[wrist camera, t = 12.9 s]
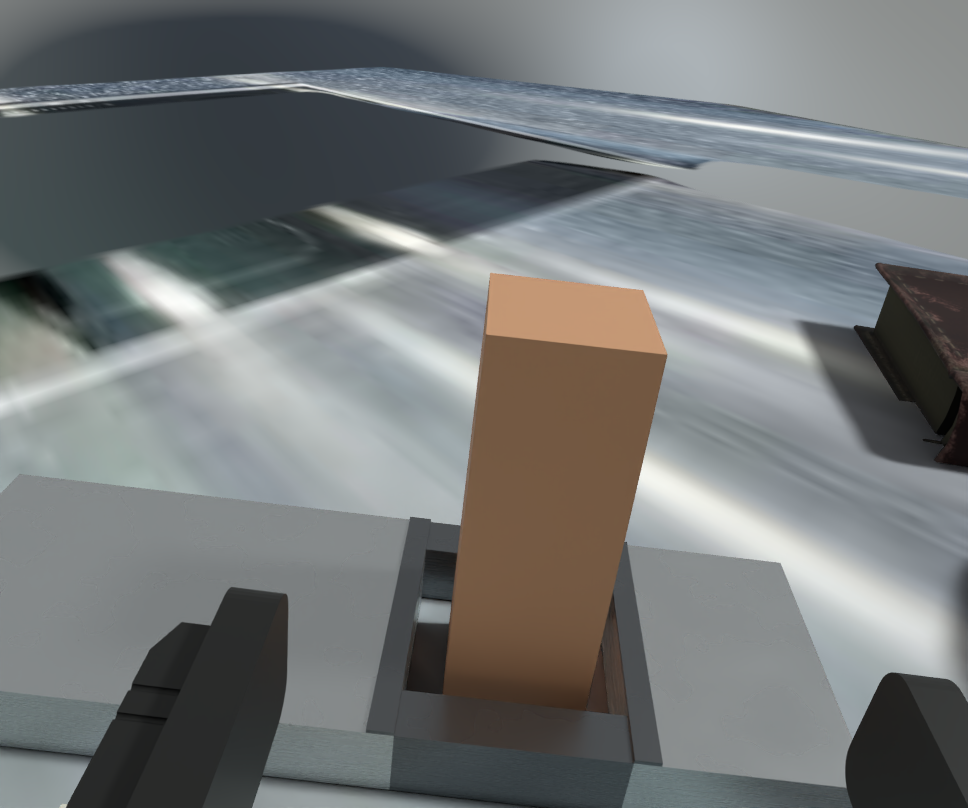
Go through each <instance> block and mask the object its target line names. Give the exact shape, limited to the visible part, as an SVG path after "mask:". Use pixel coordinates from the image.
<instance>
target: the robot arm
mask: <svg viewBox="0 0 968 808" xmlns="http://www.w3.org/2000/svg"><path fill="white" fill-rule="evenodd" d="M287 658H288V596H287V594H284V593H277V592H269V591H261V590H253V589H245V588H237V587H230V588H229V589H228V590H227V592H226V594H225V595H224V597H223V600H222V602H221V604H220V606H219V608H218V610H217V613H216V615H215V617H214V619H213V621H212V623H211V626H210V625H203V624H195V623H187V622H181V623H180V624H179V625H178V626H176V627H175V628H174V629H173V630H172V631H171V632H169V633H168V634H167V635H166V636H165V637H164V638H162V639H161V640H160V641H159V642H158V643H157V644H155V645H154V646H153V647H152V648H151V649H150V650H149V652H148V654H147V656H146V658H145V660H144V661H143V663H142V665H141V667H140V669H139V671H138V673H137V675H136V676H135V678H134V680H133V682H132V687H131V690H128V692H127V693H126V695H125V697H124V699H123V701H122V703H121V705H120V707H119V708H118V710H117V715H116V718H115V719H113V720H112V722H111V723H110V725H109V727H108V729H107V731H106V733H105V735H104V737H103V739H102V740H101V742H100V744H99V746H98V748H97V750H96V752H95V754H94V755H93V757H92V759H91V761H90V763H89V765H88V767H87V769H86V770H85V772H84V774H83V776H82V778H81V780H80V782H79V784H78V786H77V787H76V789H75V791H74V793H73V795H72V797H71V799H70V801H69V802H68V804H67V806H66V808H252V806H253V803H254V800H255V797H256V793H257V790H258V787H259V784H260V781H261V778H262V775H263V771H264V768H265V765H266V762H267V759H268V756H269V753H270V750H271V746H272V743H273V740H274V737H275V734H276V731H277V728H278V724H279V721H280V717H281V713H282V708H283V703H284V698H285V691H286V684H287ZM845 779H846V787H847V792H848V796H849V799H850V802H851V804H852V807H853V808H968V703H967V701H966V699H965V697H964V696H963V694H962V692H961V691H960V689H959V688H958V686H957V685H956V684H955V683H953V682H952V681H950V680H948V679H941V678H933V677H925V676H917V675H909V674H901V673H888V674H887V675H885V676H884V677H883V679H882V680H881V682H880V684H879V686H878V688H877V690H876V692H875V694H874V696H873V698H872V700H871V702H870V704H869V706H868V709H867V711H866V713H865V715H864V717H863V719H862V721H861V723H860V725H859V727H858V729H857V731H856V734H855V736H854V738H853V740H852V742H851V744H850V746H849V749H848V752H847V756H846V763H845Z"/></svg>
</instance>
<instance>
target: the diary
mask: <svg viewBox="0 0 968 808" xmlns="http://www.w3.org/2000/svg"><path fill="white" fill-rule="evenodd" d="M875 266H876V269H877V270H878V271H879V273H880V274H881V275H882V276H883V278H884V279H885V280H886V281H887V283H888V284H889V285H890V287H889V290H888V293H887V295H886V298H885V301H884V304H883V307H882V309H881V312H880V315H879V318H878V321H877V323H876V326H875V328H870V327H864V326H858V325H856V326H854V329H855V330H856V332H857V333H858V335H859V337H860V338H861V340H862V341H863V343H864V345H865V346H866V348H867V349H868V351H869V353H870V354H871V356H872V357H873V359H874V361H875V362H876V364H877V365H878V367H879V369H880V370H881V372H882V373H883V375H884V377H885V378H886V380H887V381H888V383H889V385H890V386H891V388H892V389H893V391H894V393H895V394H896V396H897V397H898V399H899V400H901V401H910V402H916V404H917V405H918V407H919V409H920V410H921V412H922V413H923V415H924V416H925V418H926V419H927V421H928V423H929V424H930V426H931V427H932V429H933V430H934V432H935V433H936V434H941V435H945V436H944V438H943V439H942V440H941V441H935V440H929V439H923V441H926V442H932V443H938V444H943V446H945V447H944V448H943V449H942V450H941V451H940V453H939V454H938V455H937V456H936V457H935V459H934V461H936V462H940V463H946V464H952V465H958V466H964V467H968V276H964V275H958V274H951V273H944V272H937V271H930V270H923V269H916V268H909V267H903V266H896V265H889V264H882V263H877V264H875Z"/></svg>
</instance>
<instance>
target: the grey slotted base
mask: <svg viewBox="0 0 968 808" xmlns="http://www.w3.org/2000/svg"><path fill="white" fill-rule="evenodd" d="M460 528H461V526H459V525H451V524H442V523H433V522H431V519H424V518H415V517H410V520H408V519H399V518H391V517H382V516H373V515H365V514H356V513H348V512H339V511H331V510H322V509H313V508H305V507H296V506H288V505H279V504H271V503H262V502H254V501H245V500H236V499H228V498H219V497H211V496H202V495H194V494H185V493H176V492H168V491H159V490H151V489H142V488H134V487H125V486H116V485H108V484H99V483H91V482H82V481H74V480H65V479H56V478H48V477H39V476H31V475H22V474H19V475H18V476H17V477H16V478H15V479H14V481H13V482H12V483H11V484H10V485H9V486H8V487H7V488H6V489H5V490H4V491H3V492H2V493H1V494H0V746H9V747H17V748H26V749H35V750H44V751H52V752H61V753H70V754H79V755H88V756H93V755H94V754H95V752H96V750H97V748H98V746H99V744H100V742H101V740H102V739H103V737H104V735H105V733H106V731H107V729H108V727H109V725H110V723H111V722H112V720H113V719H115V718H116V715H117V710H118V708H119V707H120V705H121V703H122V701H123V699H124V697H125V695H126V693H127V692H128V690H131V687H132V682H133V680H134V678H135V676H136V675H137V673H138V671H139V669H140V667H141V665H142V663H143V661H144V660H145V658H146V656H147V654H148V652H149V650H150V649H151V648H152V647H153V646H154V645H155V644H157V643H158V642H159V641H160V640H161V639H162V638H164V637H165V636H166V635H167V634H168V633H169V632H171V631H172V630H173V629H174V628H175V627H176V626H178V625H179V624H180V623H181V622H187V623H195V624H203V625H210V626H211V623H212V621H213V619H214V617H215V615H216V613H217V610H218V608H219V606H220V604H221V602H222V600H223V597H224V595H225V594H226V592H227V590H228V589H229V588H230V587H237V588H245V589H253V590H261V591H269V592H277V593H284V594H287V596H288V658H287V684H286V691H285V698H284V703H283V708H282V713H281V717H280V721H279V724H278V728H277V731H276V734H275V737H274V740H273V743H272V746H271V750H270V753H269V756H268V759H267V762H266V765H265V768H264V771H263V776H272V777H281V778H290V779H298V780H307V781H316V782H325V783H334V784H342V785H351V786H360V787H369V788H378V789H386V790H395V791H404V792H413V793H421V794H430V795H439V796H448V797H457V798H465V799H474V800H483V801H492V802H501V803H509V804H518V805H527V806H536V807H544V808H853V807H852V804H851V802H850V799H849V796H848V792H847V787H846V779H845V763H846V756H847V752H848V749H849V746H850V744H851V742H852V738H851V735H850V733H849V730H848V728H847V726H846V723H845V721H844V718H843V716H842V713H841V711H840V708H839V706H838V703H837V701H836V699H835V696H834V694H833V691H832V689H831V686H830V684H829V681H828V679H827V676H826V674H825V672H824V669H823V667H822V664H821V662H820V659H819V657H818V654H817V652H816V649H815V647H814V645H813V642H812V640H811V637H810V635H809V632H808V630H807V627H806V625H805V623H804V620H803V618H802V615H801V613H800V610H799V608H798V605H797V603H796V600H795V598H794V596H793V593H792V591H791V588H790V586H789V583H788V581H787V578H786V576H785V573H784V571H783V569H782V566H781V564H780V563H776V562H767V561H759V560H750V559H742V558H733V557H725V556H716V555H708V554H699V553H690V552H682V551H673V550H665V549H656V548H648V547H639V546H630V545H627V542H624V545H623V550H622V554H621V558H620V563H619V567H618V571H617V576H616V580H615V585H614V589H613V593H612V598H611V602H610V606H609V611H608V615H607V619H606V624H605V628H604V632H603V637H602V641H601V642H602V652H603V662H604V672H605V681H606V691H607V701H608V710H609V714H607V713H598V712H589V711H581V710H572V709H563V708H554V707H546V706H537V705H528V704H520V703H511V702H502V701H494V700H485V699H476V698H467V697H459V696H450V695H441V694H433V693H424V692H415V691H406V687H407V681H408V675H409V669H410V663H411V657H412V651H413V645H414V639H415V633H416V627H417V621H418V615H419V609H420V603H421V597H426V598H435V599H444V600H452V596H453V587H454V579H455V570H456V562H457V553H458V545H459V536H460Z"/></svg>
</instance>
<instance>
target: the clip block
mask: <svg viewBox="0 0 968 808" xmlns="http://www.w3.org/2000/svg"><path fill="white" fill-rule="evenodd" d="M666 359H667V352H666V350H665V347H664V344H663V342H662V339H661V336H660V334H659V331H658V328H657V326H656V323H655V320H654V318H653V315H652V312H651V310H650V307H649V304H648V302H647V299H646V296H645V294H644V291H643V290H636V289H627V288H618V287H609V286H600V285H592V284H583V283H574V282H565V281H557V280H548V279H539V278H530V277H522V276H513V275H504V274H495V273H490V281H489V290H488V298H487V307H486V315H485V324H484V332H483V341H482V349H481V358H480V366H479V375H478V383H477V392H476V400H475V409H474V417H473V426H472V434H471V443H470V451H469V460H468V468H467V477H466V485H465V494H464V502H463V511H462V519H461V528H460V536H459V545H458V553H457V562H456V570H455V579H454V587H453V596H452V604H451V613H450V621H449V631H448V641H447V652H446V662H445V673H444V683H443V694H442V695H450V696H459V697H467V698H476V699H485V700H494V701H502V702H511V703H520V704H528V705H537V706H546V707H554V708H563V709H572V710H581V711H585V710H586V706H587V702H588V697H589V693H590V689H591V684H592V680H593V676H594V671H595V667H596V663H597V658H598V654H599V650H600V645H601V641H602V637H603V632H604V628H605V624H606V619H607V615H608V611H609V606H610V602H611V598H612V593H613V589H614V585H615V580H616V576H617V571H618V567H619V563H620V558H621V554H622V550H623V545H624V541H625V537H626V532H627V528H628V524H629V519H630V515H631V511H632V506H633V502H634V498H635V493H636V489H637V485H638V480H639V476H640V472H641V467H642V463H643V459H644V454H645V450H646V446H647V441H648V437H649V433H650V428H651V424H652V419H653V415H654V411H655V406H656V402H657V398H658V393H659V389H660V385H661V380H662V376H663V372H664V367H665V363H666Z"/></svg>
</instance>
